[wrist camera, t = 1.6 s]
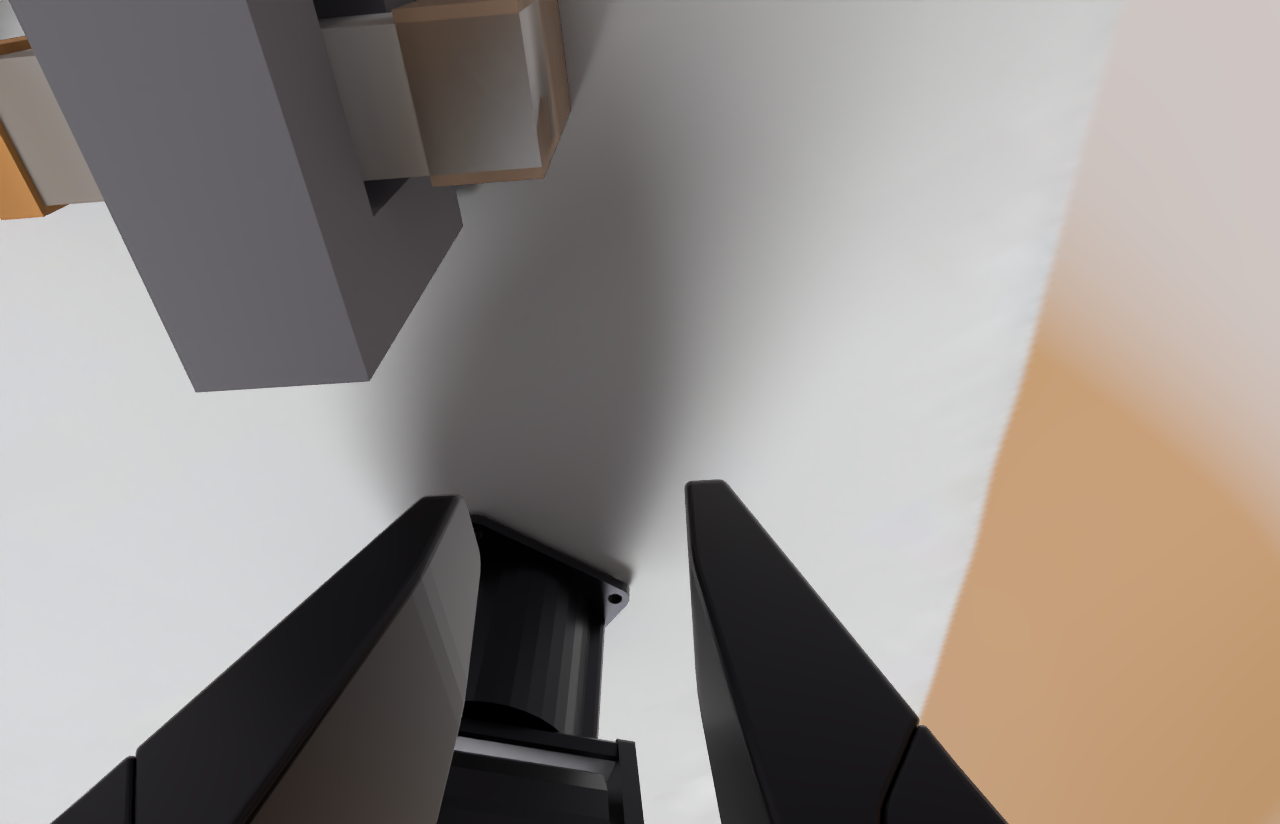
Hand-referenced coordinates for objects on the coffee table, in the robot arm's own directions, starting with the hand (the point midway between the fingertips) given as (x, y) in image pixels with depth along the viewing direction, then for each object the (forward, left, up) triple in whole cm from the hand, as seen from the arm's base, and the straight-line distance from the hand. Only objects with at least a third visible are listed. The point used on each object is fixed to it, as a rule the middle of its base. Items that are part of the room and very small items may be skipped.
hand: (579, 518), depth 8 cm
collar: (+6, +1, -13) cm, 14 cm away
